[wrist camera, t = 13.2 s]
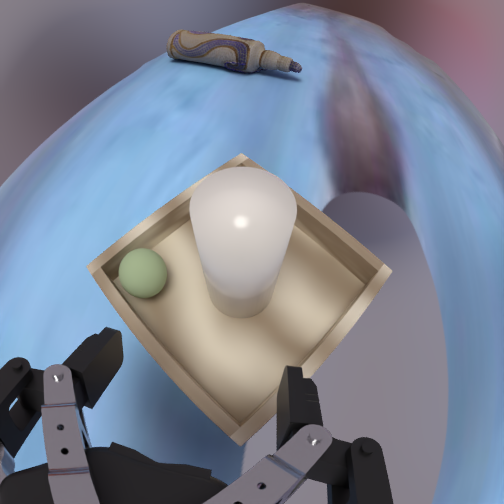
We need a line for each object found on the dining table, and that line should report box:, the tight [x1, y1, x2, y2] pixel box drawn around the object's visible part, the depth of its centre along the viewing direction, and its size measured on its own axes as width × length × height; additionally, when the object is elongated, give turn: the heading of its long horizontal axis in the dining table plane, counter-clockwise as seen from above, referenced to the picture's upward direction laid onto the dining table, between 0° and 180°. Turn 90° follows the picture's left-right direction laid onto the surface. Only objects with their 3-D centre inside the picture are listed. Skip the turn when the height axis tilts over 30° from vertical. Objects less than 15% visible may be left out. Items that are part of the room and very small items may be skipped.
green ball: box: [119, 248, 167, 298], centre depth 22 cm, size 4×4×4 cm
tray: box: [86, 153, 392, 447], centre depth 23 cm, size 18×18×4 cm
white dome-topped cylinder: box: [189, 167, 297, 318], centre depth 19 cm, size 5×5×11 cm
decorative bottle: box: [167, 30, 302, 73], centre depth 42 cm, size 26×8×7 cm, turn 63°
